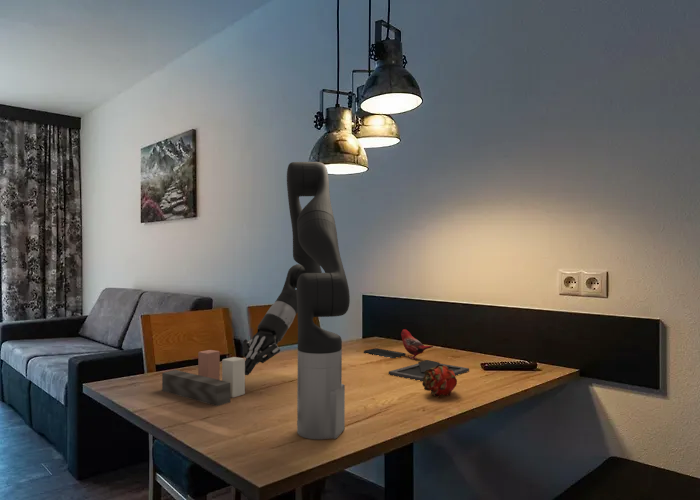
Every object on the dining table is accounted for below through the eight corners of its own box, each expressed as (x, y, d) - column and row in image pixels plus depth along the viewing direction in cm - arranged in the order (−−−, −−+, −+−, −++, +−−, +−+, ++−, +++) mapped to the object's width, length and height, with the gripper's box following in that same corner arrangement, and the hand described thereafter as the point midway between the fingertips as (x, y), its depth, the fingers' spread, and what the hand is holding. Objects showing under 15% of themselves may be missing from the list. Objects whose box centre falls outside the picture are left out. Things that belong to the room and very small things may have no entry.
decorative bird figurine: (403, 355, 187) (403, 328, 187) (436, 364, 172) (436, 334, 172) (397, 356, 186) (397, 328, 186) (430, 365, 171) (430, 335, 171)
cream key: (244, 393, 131) (244, 358, 131) (232, 397, 127) (232, 361, 127) (234, 391, 133) (234, 356, 133) (222, 394, 130) (222, 359, 130)
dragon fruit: (425, 406, 130) (446, 402, 140) (451, 390, 127) (471, 387, 136) (410, 376, 134) (431, 374, 143) (435, 359, 130) (455, 359, 140)
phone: (376, 348, 198) (406, 353, 187) (376, 351, 198) (406, 356, 187) (362, 350, 192) (393, 356, 181) (362, 353, 192) (393, 359, 181)
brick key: (219, 384, 140) (219, 351, 140) (207, 387, 137) (207, 353, 137) (210, 381, 143) (210, 349, 143) (198, 384, 139) (198, 351, 140)
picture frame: (426, 365, 173) (388, 376, 158) (426, 359, 173) (388, 370, 158) (469, 373, 162) (432, 385, 147) (469, 366, 162) (432, 378, 147)
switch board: (265, 397, 132) (266, 373, 132) (216, 412, 120) (216, 386, 120) (209, 383, 146) (209, 362, 146) (159, 395, 133) (159, 372, 133)
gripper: (253, 311, 145) (219, 361, 135) (287, 314, 137) (253, 368, 127) (267, 327, 149) (234, 377, 139) (301, 331, 141) (269, 385, 131)
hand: (243, 373), depth 133 cm, fingers closed
